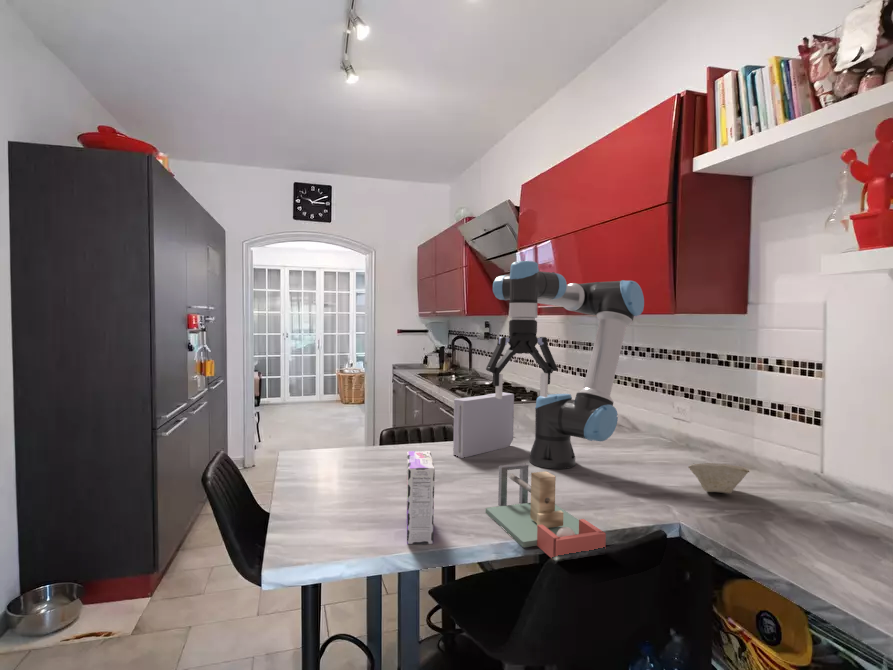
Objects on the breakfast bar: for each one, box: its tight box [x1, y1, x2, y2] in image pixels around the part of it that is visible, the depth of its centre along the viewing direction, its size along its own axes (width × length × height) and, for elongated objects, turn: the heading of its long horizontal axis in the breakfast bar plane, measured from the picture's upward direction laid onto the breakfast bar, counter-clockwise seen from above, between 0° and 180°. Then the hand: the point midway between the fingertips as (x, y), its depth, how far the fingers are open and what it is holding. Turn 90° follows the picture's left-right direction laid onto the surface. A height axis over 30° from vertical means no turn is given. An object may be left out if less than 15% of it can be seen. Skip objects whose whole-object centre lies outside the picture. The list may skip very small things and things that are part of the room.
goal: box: [536, 518, 607, 559], centre depth 103 cm, size 11×8×4 cm
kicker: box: [508, 471, 564, 528], centre depth 120 cm, size 6×20×11 cm, turn 19°
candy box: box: [406, 450, 436, 545], centre depth 112 cm, size 14×6×16 cm, turn 5°
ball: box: [557, 527, 575, 537], centre depth 105 cm, size 4×4×4 cm
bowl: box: [688, 462, 750, 494], centre depth 140 cm, size 15×14×10 cm
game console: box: [452, 391, 515, 459], centre depth 182 cm, size 6×27×20 cm, turn 133°
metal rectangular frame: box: [497, 462, 529, 506], centre depth 128 cm, size 8×2×10 cm, turn 109°
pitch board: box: [485, 502, 579, 549], centre depth 116 cm, size 18×20×1 cm
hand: (521, 397), depth 135 cm, fingers open, 13 cm apart
